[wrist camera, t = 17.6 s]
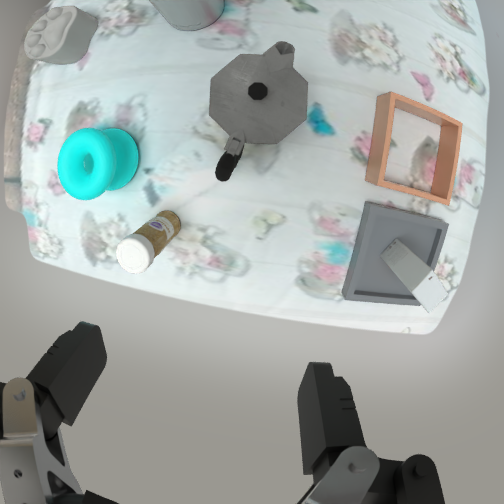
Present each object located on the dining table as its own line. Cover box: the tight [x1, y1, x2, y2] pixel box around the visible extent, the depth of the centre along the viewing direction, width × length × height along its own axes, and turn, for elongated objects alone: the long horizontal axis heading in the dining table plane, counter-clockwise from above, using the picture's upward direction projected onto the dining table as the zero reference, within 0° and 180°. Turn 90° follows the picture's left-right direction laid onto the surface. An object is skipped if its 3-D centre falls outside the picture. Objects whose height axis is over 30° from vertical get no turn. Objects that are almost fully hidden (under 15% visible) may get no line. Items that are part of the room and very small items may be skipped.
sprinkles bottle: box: [116, 211, 180, 274], centre depth 36 cm, size 5×5×14 cm
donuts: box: [58, 128, 138, 200], centre depth 34 cm, size 10×10×10 cm
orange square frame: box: [365, 92, 462, 206], centre depth 33 cm, size 14×14×5 cm
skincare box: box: [380, 238, 448, 313], centre depth 36 cm, size 6×4×12 cm
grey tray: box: [342, 201, 449, 306], centre depth 41 cm, size 16×16×2 cm
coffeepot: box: [209, 41, 308, 181], centre depth 28 cm, size 15×9×18 cm, turn 155°
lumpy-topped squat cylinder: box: [24, 6, 98, 65], centre depth 25 cm, size 10×13×9 cm
